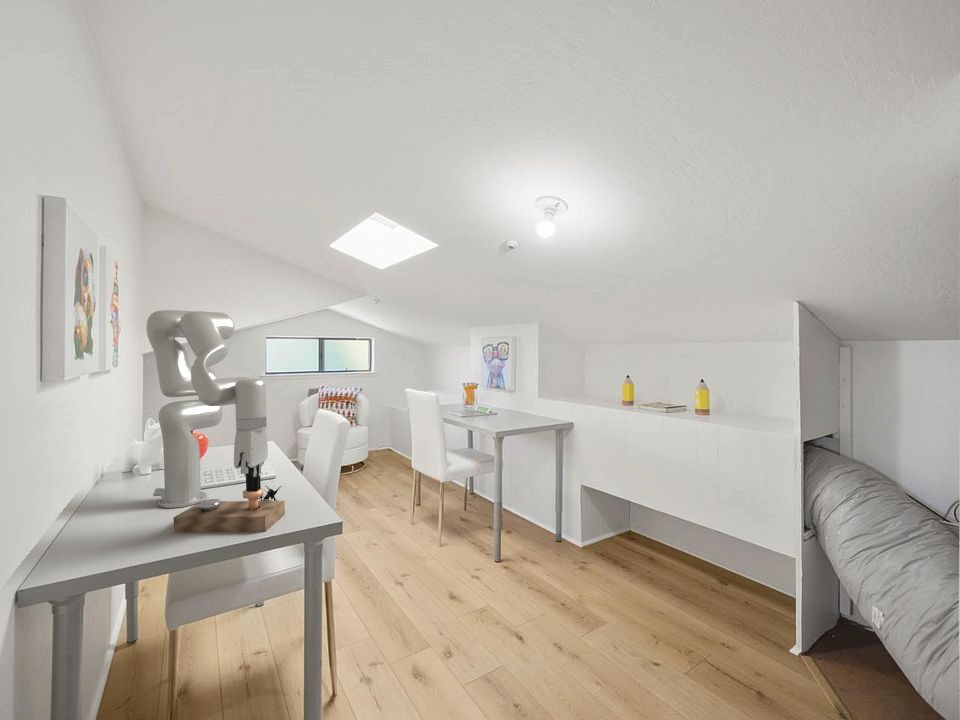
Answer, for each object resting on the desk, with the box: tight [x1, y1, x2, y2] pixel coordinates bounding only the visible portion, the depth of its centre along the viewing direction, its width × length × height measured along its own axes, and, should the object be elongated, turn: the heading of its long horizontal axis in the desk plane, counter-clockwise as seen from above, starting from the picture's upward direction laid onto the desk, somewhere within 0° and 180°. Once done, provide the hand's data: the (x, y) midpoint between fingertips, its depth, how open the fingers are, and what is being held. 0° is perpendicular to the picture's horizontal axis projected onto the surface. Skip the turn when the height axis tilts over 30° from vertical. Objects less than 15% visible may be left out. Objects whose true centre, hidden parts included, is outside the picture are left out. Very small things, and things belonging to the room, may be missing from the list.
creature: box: [258, 484, 282, 501], centre depth 141 cm, size 8×5×8 cm
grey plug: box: [199, 498, 221, 511], centre depth 125 cm, size 5×5×5 cm
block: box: [172, 500, 286, 533], centre depth 125 cm, size 24×12×4 cm, turn 90°
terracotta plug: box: [242, 487, 264, 511], centre depth 125 cm, size 5×5×5 cm
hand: (253, 490), depth 125 cm, fingers closed
